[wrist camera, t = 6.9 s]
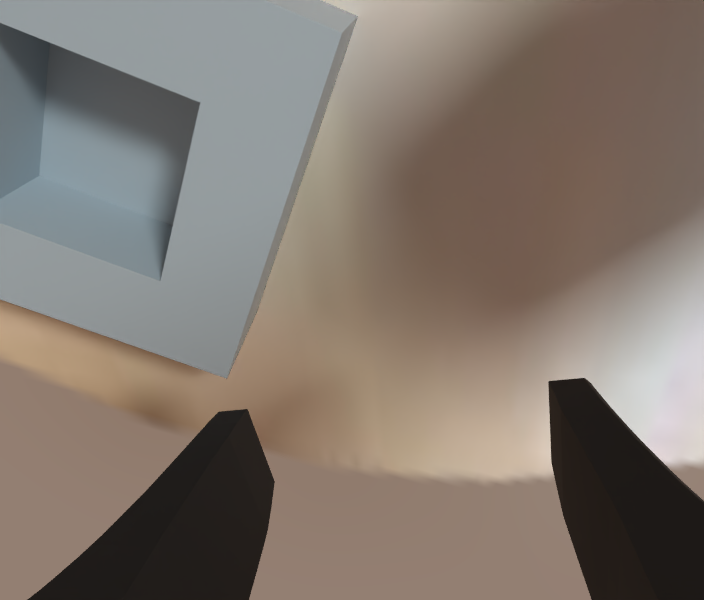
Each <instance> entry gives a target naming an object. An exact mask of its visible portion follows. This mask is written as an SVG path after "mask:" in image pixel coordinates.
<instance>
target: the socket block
mask: <svg viewBox="0 0 704 600" xmlns="http://www.w3.org/2000/svg"><path fill="white" fill-rule="evenodd" d="M357 17H358V16H356V15H354V14H351V13H349V12H347V11H344V10H342V9H340V8H337V7H335V6H333V5H330V4H328V3H326V2H323V1H321V0H0V300H3V301H6V302H9V303H12V304H15V305H18V306H20V307H23V308H26V309H29V310H32V311H35V312H38V313H40V314H43V315H46V316H49V317H52V318H55V319H58V320H60V321H63V322H66V323H69V324H72V325H75V326H78V327H81V328H83V329H86V330H89V331H92V332H95V333H98V334H101V335H103V336H106V337H109V338H112V339H115V340H118V341H121V342H124V343H126V344H129V345H132V346H135V347H138V348H141V349H144V350H146V351H149V352H152V353H155V354H158V355H161V356H164V357H166V358H169V359H172V360H175V361H178V362H181V363H184V364H187V365H189V366H192V367H195V368H198V369H201V370H204V371H207V372H209V373H212V374H215V375H218V376H221V377H224V378H228V375H229V373H230V371H231V369H232V366H233V364H234V362H235V360H236V357H237V355H238V353H239V351H240V349H241V346H242V344H243V342H244V340H245V337H246V335H247V333H248V331H249V328H250V326H251V324H252V322H253V319H254V317H255V315H256V313H257V310H258V307H259V304H260V301H261V298H262V295H263V292H264V289H265V287H266V284H267V281H268V278H269V275H270V272H271V269H272V266H273V263H274V260H275V257H276V254H277V251H278V249H279V246H280V243H281V240H282V237H283V234H284V231H285V228H286V225H287V222H288V219H289V216H290V213H291V211H292V208H293V205H294V202H295V199H296V196H297V193H298V190H299V187H300V184H301V181H302V178H303V175H304V172H305V170H306V167H307V164H308V161H309V158H310V155H311V152H312V149H313V146H314V143H315V140H316V137H317V134H318V132H319V129H320V126H321V123H322V120H323V117H324V114H325V111H326V108H327V105H328V102H329V99H330V96H331V94H332V91H333V88H334V85H335V82H336V79H337V76H338V73H339V70H340V67H341V64H342V61H343V58H344V55H345V53H346V50H347V47H348V44H349V41H350V38H351V35H352V32H353V29H354V26H355V23H356V20H357Z"/></svg>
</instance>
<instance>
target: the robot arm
mask: <svg viewBox="0 0 704 600" xmlns="http://www.w3.org/2000/svg"><path fill="white" fill-rule="evenodd" d="M549 407H550V434H551V460H552V467H553V471H554V476H555V481H556V485H557V490H558V494H559V498H560V503H561V508H562V512H563V516H564V519H565V522H566V525H567V528H568V531H569V534H570V537H571V540H572V543H573V546H574V549H575V552H576V555H577V558H578V561H579V564H580V567H581V570H582V573H583V576H584V578H585V581H586V584H587V587H588V590H589V593H590V596H591V599H592V600H704V501H703V500H702V499H701V498H700V497H699V496H698V495H697V494H695V493H694V492H693V491H692V490H691V489H690V488H689V487H688V486H687V485H685V484H684V483H683V482H682V481H681V480H680V479H679V478H678V477H677V476H676V475H675V474H674V473H673V472H672V471H671V470H670V469H669V468H668V467H667V466H666V465H665V464H664V463H663V462H662V461H661V460H660V459H659V458H658V457H657V456H656V455H655V454H654V453H653V452H652V451H651V450H650V449H649V448H648V447H647V446H646V445H645V444H644V443H643V442H642V441H641V440H640V439H639V438H638V437H637V436H636V435H635V434H634V433H633V432H632V430H631V429H630V428H629V427H628V426H627V425H626V424H625V423H624V422H623V421H622V419H621V418H620V417H619V416H618V415H617V414H616V413H615V412H614V410H613V409H612V408H611V407H610V406H609V405H608V404H607V402H606V401H605V400H604V399H603V398H602V396H601V395H600V394H599V393H598V392H597V390H596V389H595V388H594V387H593V385H592V384H591V383H590V382H589V381H587V380H586V379H585V378H579V379H568V380H557V381H549ZM273 490H274V479H273V476H272V473H271V471H270V468H269V465H268V463H267V460H266V457H265V455H264V452H263V450H262V447H261V444H260V442H259V439H258V436H257V434H256V431H255V428H254V426H253V423H252V420H251V418H250V415H249V412H248V410H247V409H244V410H233V411H222V412H218V413H217V414H216V415H215V416H214V417H213V418H212V419H211V420H210V421H209V422H208V424H207V425H206V426H205V427H204V428H203V429H202V430H201V431H200V432H199V433H198V435H197V436H196V437H195V438H194V439H193V440H192V441H191V442H190V443H189V445H188V446H187V447H186V448H185V449H184V450H183V451H182V452H181V453H180V455H179V456H178V457H177V458H176V459H175V460H174V461H173V462H172V463H171V464H170V466H169V467H168V468H167V469H166V470H165V471H164V472H163V473H162V474H161V475H160V477H158V479H157V480H156V481H155V482H154V483H153V484H152V485H151V486H150V487H149V489H148V490H147V491H146V492H145V493H144V494H143V495H142V496H141V497H140V498H139V499H138V500H137V501H136V502H135V503H134V504H133V505H132V506H131V507H130V508H129V509H128V510H127V511H126V512H125V513H124V514H123V515H122V516H121V517H120V518H119V519H118V520H117V521H116V522H115V523H114V524H113V525H112V526H111V527H110V528H109V529H108V530H107V531H106V532H105V533H104V534H103V535H102V536H101V537H100V538H99V539H97V540H96V541H95V542H94V543H93V544H92V545H91V546H90V547H89V548H88V549H87V550H86V551H85V552H83V553H82V554H81V555H80V556H79V557H78V558H77V559H76V560H74V561H73V562H72V563H71V564H70V565H69V566H68V567H66V568H65V569H64V570H63V571H62V572H61V573H60V574H59V575H57V576H56V577H55V578H54V579H53V580H51V581H50V582H49V583H48V584H47V585H45V586H44V587H43V588H42V589H41V590H39V591H38V592H37V593H36V594H34V595H33V596H32V597H31V598H29V599H28V600H249V597H250V594H251V590H252V586H253V583H254V579H255V576H256V572H257V568H258V564H259V561H260V557H261V554H262V550H263V546H264V542H265V538H266V535H267V530H268V524H269V518H270V511H271V505H272V497H273Z"/></svg>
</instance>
